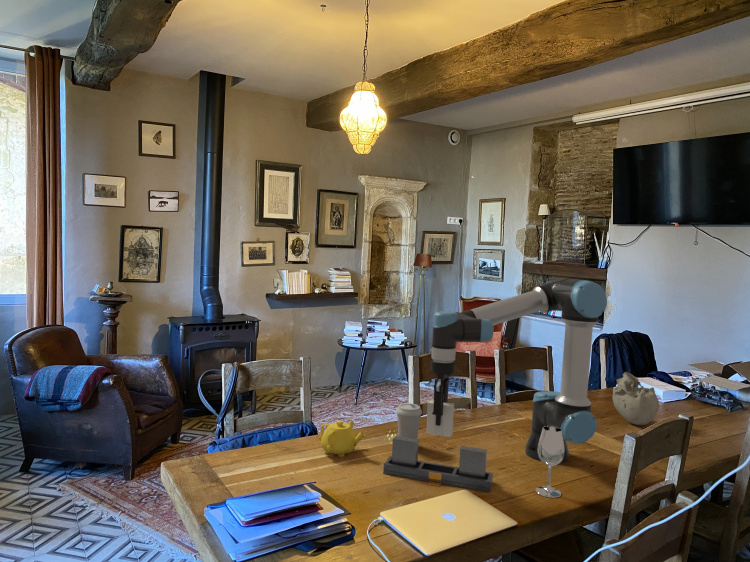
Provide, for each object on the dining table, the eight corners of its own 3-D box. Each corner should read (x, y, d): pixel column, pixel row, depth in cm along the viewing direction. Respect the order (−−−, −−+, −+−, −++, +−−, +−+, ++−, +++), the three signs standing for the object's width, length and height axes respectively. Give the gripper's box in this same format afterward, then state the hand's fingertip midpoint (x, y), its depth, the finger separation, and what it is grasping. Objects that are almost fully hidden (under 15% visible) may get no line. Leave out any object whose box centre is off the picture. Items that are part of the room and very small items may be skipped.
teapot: (365, 457, 192) (366, 426, 192) (326, 461, 188) (328, 429, 187) (352, 443, 206) (353, 413, 205) (316, 446, 201) (317, 416, 200)
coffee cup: (418, 452, 200) (420, 411, 199) (392, 449, 201) (394, 408, 200) (421, 443, 209) (423, 404, 208) (396, 440, 211) (398, 401, 210)
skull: (664, 426, 242) (668, 376, 240) (648, 433, 232) (652, 381, 231) (621, 414, 257) (624, 367, 255) (604, 420, 247) (607, 371, 246)
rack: (492, 481, 177) (494, 447, 176) (488, 495, 167) (490, 459, 167) (390, 464, 187) (391, 432, 187) (381, 476, 178) (382, 442, 177)
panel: (452, 434, 178) (454, 403, 177) (451, 437, 175) (452, 406, 174) (428, 430, 180) (429, 400, 180) (426, 433, 177) (427, 402, 177)
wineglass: (531, 486, 174) (535, 424, 173) (555, 486, 175) (559, 424, 174) (540, 498, 167) (544, 432, 165) (565, 498, 167) (570, 433, 166)
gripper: (436, 354, 185) (433, 424, 186) (425, 363, 170) (421, 439, 171) (459, 357, 183) (455, 427, 184) (450, 366, 167) (445, 442, 169)
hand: (439, 432), depth 178 cm, fingers closed on panel, 3 cm apart
